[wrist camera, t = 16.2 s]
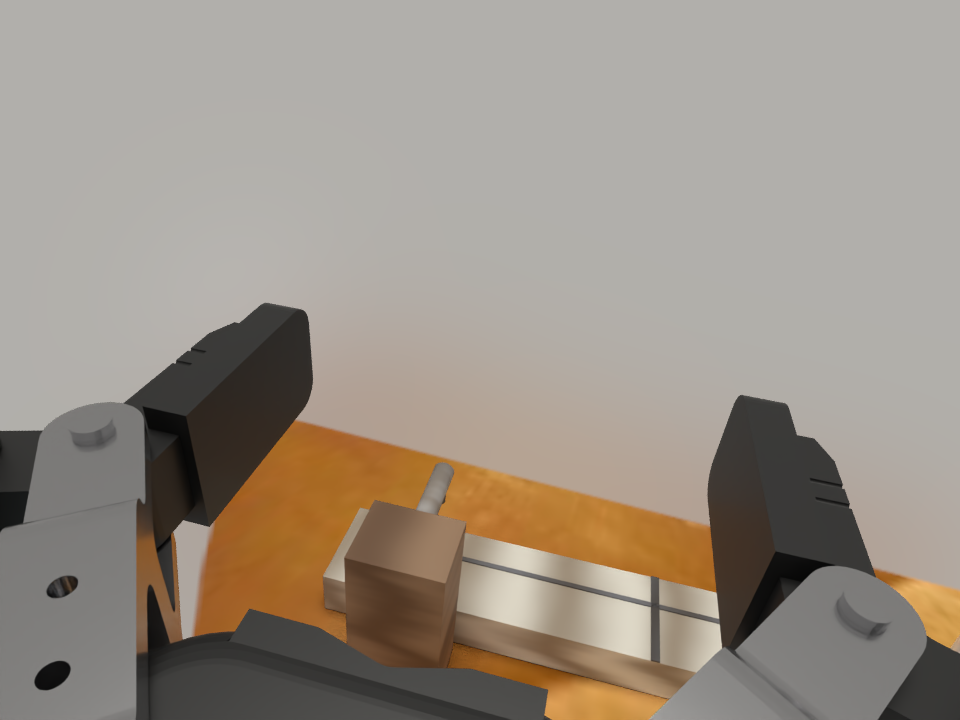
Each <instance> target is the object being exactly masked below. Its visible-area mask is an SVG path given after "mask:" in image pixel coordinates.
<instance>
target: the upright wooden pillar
mask: <svg viewBox="0 0 960 720" xmlns="http://www.w3.org/2000/svg"><path fill="white" fill-rule="evenodd" d="M453 475H454V470H453V468H452V467H451V466H450V465H449V464H447V463H438V464H437V465H436V466H435V468H434V470H433V472H432V475H431V477H430V479H429V482H428V484H427V486H426V488H425V491H424V493H423V495H422V497H421V500H420V502H419V504H418V506H417V509H416V510H414V509H410V508H406V507H402V506H398V505H393V504H389V503H385V502H381V501H377V500H374V502H373V504H372V506H371V508H370V510H369V512H368V514H367V515H366V517H365V519H364V521H363V523H362V525H361V527H360V529H359V531H358V532H357V534H356V536H355V538H354V540H353V542H352V544H351V546H350V548H349V549H348V551H347V553H346V555H345V557H344V569H345V598H346V627H347V645H349V646H351V647H352V648H354V649H356V650H357V651H359V652H361V653H362V654H364V655H366V656H368V657H369V658H371V659H373V660H374V661H376V662H378V663H380V664H382V665H384V666H388V667H400V668H447V666H448V663H449V660H450V656H451V653H452V648H453V639H454V630H455V621H456V612H457V603H458V594H459V585H460V576H461V567H462V557H463V548H464V539H465V530H466V522H465V521H461V520H456V519H452V518H448V517H444V516H440V515H438V512H439V510H440V507H441V505H442V504H443V503H444V502H445V497H446V492H447V490H448V487H449V485H450V482H451V480H452V477H453Z"/></svg>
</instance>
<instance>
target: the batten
mask: <svg viewBox="0 0 960 720" xmlns="http://www.w3.org/2000/svg"><path fill="white" fill-rule="evenodd" d="M368 512H369V510H368V509H363V508H360V509H359V511H358V513H357V515H356V517H355V519H354V520H353V522H352V524H351V526H350V528H349V530H348V531H347V533H346V535H345V537H344V539H343V541H342V542H341V544H340V546H339V548H338V550H337V552H336V553H335V555H334V557H333V559H332V561H331V563H330V564H329V566H328V568H327V570H326V572H325V574H324V575H323V585H324V601H325V608H327V609H331V610H335V611H338V612H342V613H346V598H345V569H344V557H345V555H346V553H347V551H348V549H349V548H350V546H351V544H352V542H353V540H354V538H355V536H356V534H357V532H358V531H359V529H360V527H361V525H362V523H363V521H364V519H365V517H366V515H367V514H368ZM453 642H456V643H459V644H463V645H467V646H471V647H474V648H478V649H482V650H486V651H489V652H493V653H497V654H501V655H505V656H508V657H512V658H516V659H520V660H523V661H527V662H531V663H535V664H539V665H542V666H546V667H550V668H554V669H557V670H561V671H565V672H569V673H573V674H576V675H580V676H584V677H588V678H591V679H595V680H599V681H603V682H606V683H610V684H614V685H618V686H622V687H625V688H629V689H633V690H637V691H640V692H644V693H648V694H652V695H656V696H659V697H663V698H667V699H670V698H671V697H672V696H673V695H674V694H675V693H676V692H677V691H678V690H679V689H680V688H681V687H682V686H683V685H684V684H685V683H686V682H687V681H688V680H689V679H690V678H692V677H693V676H694V675H695V674H696V673H697V672H698V671H699V670H700V669H701V668H702V667H703V666H704V665H705V664H706V663H707V662H708V661H709V660H710V659H711V658H712V657H713V656H714V655H715V654H716V653H717V652H718V651H720V650H721V649H722V643H721V632H720V622H719V611H718V601H717V593H715V592H711V591H707V590H702V589H698V588H694V587H690V586H686V585H682V584H677V583H673V582H669V581H665V580H661V579H659V578H657V577H653V576H651V577H648V576H644V575H640V574H635V573H631V572H627V571H623V570H619V569H615V568H610V567H606V566H602V565H598V564H594V563H589V562H585V561H581V560H577V559H573V558H568V557H564V556H560V555H556V554H552V553H548V552H543V551H539V550H535V549H531V548H527V547H522V546H518V545H514V544H510V543H506V542H501V541H497V540H493V539H489V538H485V537H481V536H476V535H472V534H468V533H465V539H464V548H463V557H462V567H461V576H460V585H459V594H458V603H457V612H456V621H455V630H454V639H453Z"/></svg>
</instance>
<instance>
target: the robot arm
mask: <svg viewBox="0 0 960 720" xmlns="http://www.w3.org/2000/svg"><path fill="white" fill-rule="evenodd" d="M312 384H313V373H312V360H311V346H310V333H309V322H308V316H307V314H306V312H305V311H303V310H301V309H296V308H291V307H286V306H280V305H275V304H270V303H264V304H262V305H260V306H259V307H258V308H257V309H256V310H254V311H253V312H252V313H251V314H250V315H248V316H247V317H246V318H245V319H244V320H243V321H241V322H240V323H235V322H234V323H232V324H230V325H227V326H225V327H223V328H220V329H218V330H216V331H213V332H211V333H209V334H208V335H206V336H205V337H204V338H203V339H202V340H200V341H199V342H198V343H197V344H195V345H194V346H193V347H192V348H191V351H187V352H186V353H184V354H183V355H182V356H181V357H180V358H178V359H177V360H176V364H174V363H172V364H171V365H170V366H169V367H167V368H166V369H165V370H164V371H162V372H161V373H160V374H159V375H158V376H156V377H155V378H154V379H153V380H151V381H150V382H149V383H148V384H147V385H145V386H144V387H143V388H142V389H141V390H139V391H138V392H137V393H136V394H135V395H133V396H132V397H131V398H130V399H128V400H127V401H126V402H125V403H123V404H122V403H114V402H107V403H96V404H91V405H86V406H83V407H79V408H76V409H74V410H71V411H69V412H67V413H65V414H63V415H61V416H59V417H58V418H56V419H55V420H53V421H52V422H51V423H50V424H48V425H47V426H46V428H45V429H44V430H43V431H0V720H551V719H549V718H548V717H546V716H544V713H545V707H546V700H547V693H548V690H547V689H543V688H539V687H536V686H532V685H528V684H525V683H521V682H517V681H513V680H510V679H506V678H502V677H499V676H495V675H491V674H488V673H484V672H480V671H477V670H473V669H454V668H400V667H388V666H384V665H382V664H380V663H378V662H376V661H374V660H373V659H371V658H369V657H368V656H366V655H364V654H362V653H361V652H359V651H357V650H356V649H354V648H352V647H351V646H349V645H347V644H346V643H344V642H342V641H341V640H339V639H337V638H336V637H334V636H332V635H330V634H329V633H327V632H325V631H324V630H322V629H320V628H319V627H315V626H311V625H308V624H304V623H300V622H297V621H293V620H289V619H285V618H282V617H278V616H274V615H271V614H267V613H263V612H260V611H256V610H252V609H249V610H248V612H247V613H246V615H245V617H244V618H243V620H242V621H241V623H240V624H239V626H238V628H237V629H236V631H235V632H219V633H209V634H204V635H200V636H195V637H190V638H187V639H184V640H183V639H182V631H181V617H180V601H179V587H178V570H177V555H176V542H175V538H174V533H173V531H174V530H175V529H176V528H177V527H178V525H179V524H180V523H181V522H182V521H183V520H185V521H189V522H193V523H197V524H201V525H204V526H208V527H210V526H211V524H212V523H213V522H214V521H215V519H216V518H217V517H218V516H219V514H220V513H221V512H222V511H223V509H224V508H225V507H226V506H227V504H228V503H229V502H230V501H231V499H232V498H233V497H234V496H235V494H236V493H237V492H238V491H239V489H240V488H241V487H242V486H243V484H244V483H245V482H246V480H247V479H248V478H249V477H250V475H251V474H252V473H253V472H254V470H255V469H256V468H257V467H258V465H259V464H260V463H261V462H262V460H263V459H264V458H265V457H266V455H267V454H268V453H269V452H270V450H271V449H272V448H273V447H274V445H275V444H276V443H277V442H278V440H279V439H280V438H281V437H282V435H283V434H284V433H285V432H286V430H287V429H288V428H289V427H290V425H291V424H292V423H293V422H294V420H295V419H296V418H297V417H298V415H299V414H300V413H301V411H302V410H303V409H304V407H305V406H306V404H307V402H308V400H309V397H310V394H311V390H312ZM708 482H709V483H708V506H709V517H710V527H711V538H712V548H713V559H714V569H715V580H716V590H717V601H718V611H719V622H720V632H721V643H722V649H721V650H720V651H718V652H717V653H716V654H715V655H714V656H713V657H712V658H711V659H710V660H709V661H708V662H707V663H706V664H705V665H704V666H703V667H702V668H701V669H700V670H699V671H698V672H697V673H696V674H695V675H694V676H693V677H692V678H690V679H689V680H688V681H687V682H686V683H685V684H684V685H683V686H682V687H681V688H680V689H679V690H678V691H677V692H676V693H675V694H674V695H673V696H672V697H671V698H670V699H669V700H668V701H667V702H666V703H665V704H664V705H663V706H662V707H661V708H660V709H659V710H658V711H657V712H656V713H655V714H654V715H653V716H652V717H651V718H650V719H649V720H960V653H958V652H956V651H954V650H952V649H950V648H948V647H946V646H944V645H942V644H940V643H938V642H936V641H934V640H933V639H931V638H929V637H928V636H926V631H925V628H924V625H923V623H922V621H921V619H920V617H919V615H918V614H917V612H916V611H915V610H914V608H913V607H912V606H911V605H910V604H909V603H908V602H907V600H906V599H905V598H904V597H902V596H901V595H900V594H899V593H898V592H897V591H896V590H894V589H893V588H891V587H890V586H889V585H887V584H886V583H884V582H882V581H881V580H879V579H877V578H876V576H875V573H874V570H873V568H872V565H871V562H870V559H869V556H868V554H867V551H866V548H865V545H864V542H863V540H862V537H861V534H860V531H859V528H858V526H857V523H856V520H855V517H854V515H853V512H852V509H849V504H850V503H849V501H848V498H847V495H846V492H845V490H844V489H842V485H843V484H842V481H841V478H840V476H839V473H838V470H837V467H836V464H835V461H834V460H833V459H832V458H831V457H830V456H829V455H828V454H827V452H826V451H825V450H824V449H823V448H822V447H821V446H820V445H819V444H818V442H817V441H816V440H815V439H813V438H808V437H803V436H797V434H796V431H795V428H794V424H793V421H792V417H791V414H790V411H789V408H788V406H787V405H786V404H785V403H780V402H775V401H770V400H765V399H760V398H754V397H749V396H744V395H740V396H739V397H738V398H737V400H736V401H735V403H734V406H733V408H732V411H731V414H730V416H729V419H728V422H727V425H726V427H725V430H724V433H723V436H722V438H721V441H720V444H719V447H718V449H717V452H716V455H715V457H714V460H713V463H712V466H711V470H710V475H709V481H708Z"/></svg>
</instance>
